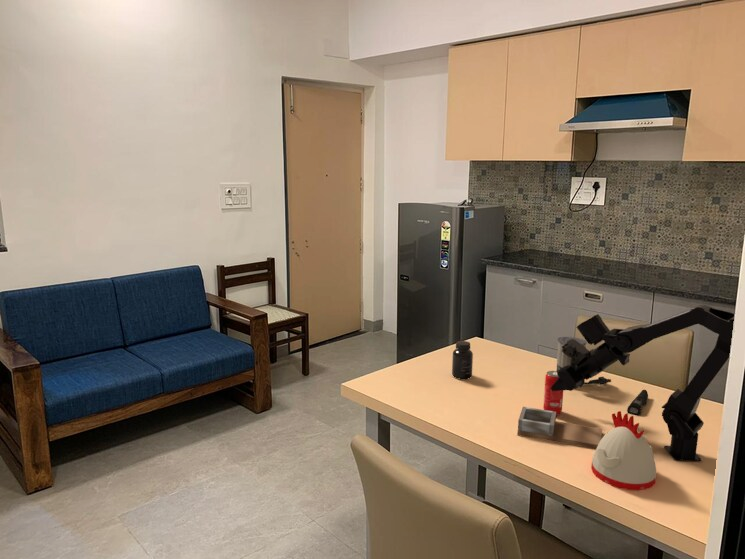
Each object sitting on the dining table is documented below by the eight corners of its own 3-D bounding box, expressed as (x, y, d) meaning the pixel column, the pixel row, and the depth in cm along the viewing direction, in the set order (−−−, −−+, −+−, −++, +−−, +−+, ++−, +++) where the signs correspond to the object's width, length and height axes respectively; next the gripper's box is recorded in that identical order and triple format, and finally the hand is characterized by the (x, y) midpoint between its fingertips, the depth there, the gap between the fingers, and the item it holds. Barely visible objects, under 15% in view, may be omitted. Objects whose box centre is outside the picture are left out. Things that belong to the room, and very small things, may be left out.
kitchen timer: (618, 453, 143) (623, 398, 140) (668, 480, 131) (675, 420, 128) (578, 467, 136) (583, 409, 133) (628, 496, 125) (634, 434, 121)
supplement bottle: (448, 374, 195) (449, 341, 193) (464, 371, 198) (465, 338, 196) (459, 381, 189) (460, 347, 187) (476, 378, 192) (477, 344, 189)
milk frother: (548, 379, 191) (551, 337, 188) (586, 373, 196) (589, 332, 193) (577, 395, 178) (581, 350, 175) (616, 389, 183) (621, 345, 180)
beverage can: (541, 413, 165) (544, 375, 162) (545, 407, 169) (547, 369, 167) (559, 417, 163) (562, 378, 160) (563, 410, 167) (565, 372, 165)
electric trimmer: (650, 400, 176) (652, 390, 175) (639, 417, 164) (640, 407, 163) (637, 397, 178) (638, 387, 177) (625, 413, 166) (626, 403, 165)
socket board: (601, 432, 154) (602, 418, 153) (601, 449, 145) (602, 434, 144) (522, 419, 161) (523, 405, 160) (517, 435, 152) (518, 420, 151)
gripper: (596, 326, 163) (557, 353, 172) (566, 340, 149) (526, 369, 159) (621, 359, 159) (580, 385, 169) (593, 377, 146) (550, 403, 156)
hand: (559, 384), depth 163 cm, fingers open, 9 cm apart
